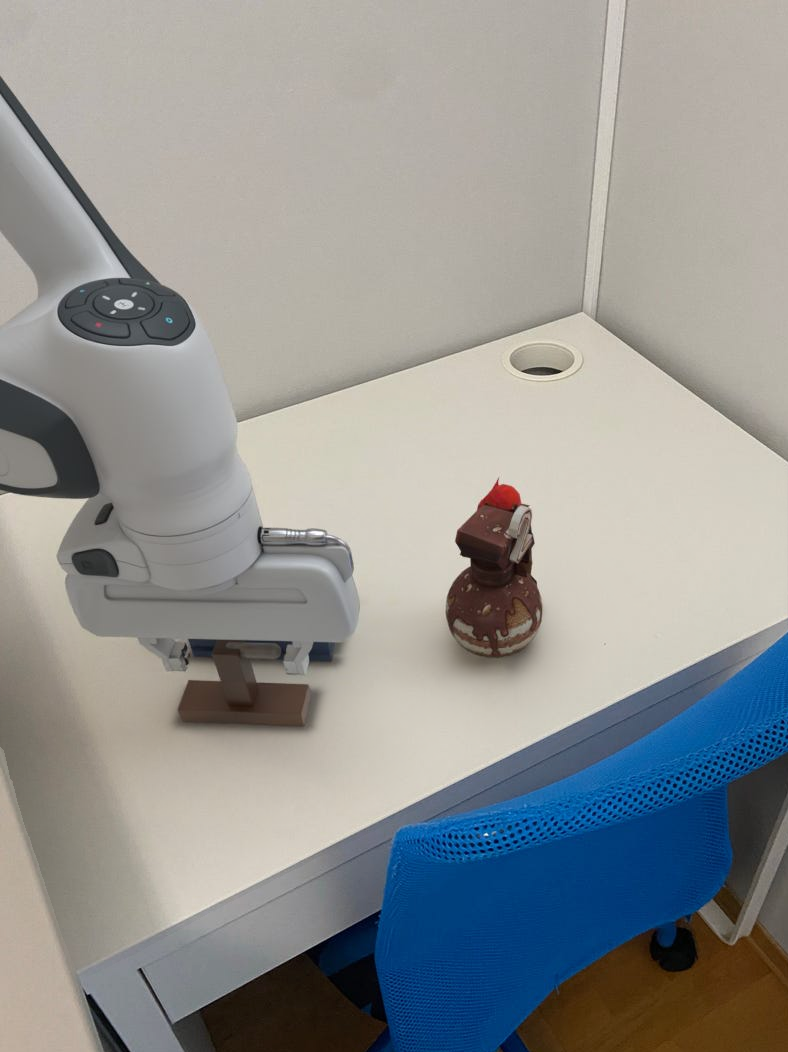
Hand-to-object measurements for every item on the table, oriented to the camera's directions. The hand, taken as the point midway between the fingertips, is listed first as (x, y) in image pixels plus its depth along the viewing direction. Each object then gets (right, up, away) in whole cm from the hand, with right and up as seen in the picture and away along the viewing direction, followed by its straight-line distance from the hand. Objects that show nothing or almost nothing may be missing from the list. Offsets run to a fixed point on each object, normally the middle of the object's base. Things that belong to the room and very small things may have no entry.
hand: (238, 667), depth 73 cm
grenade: (+20, +2, +9) cm, 22 cm away
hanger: (0, -3, +3) cm, 5 cm away
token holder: (0, +3, +10) cm, 10 cm away
